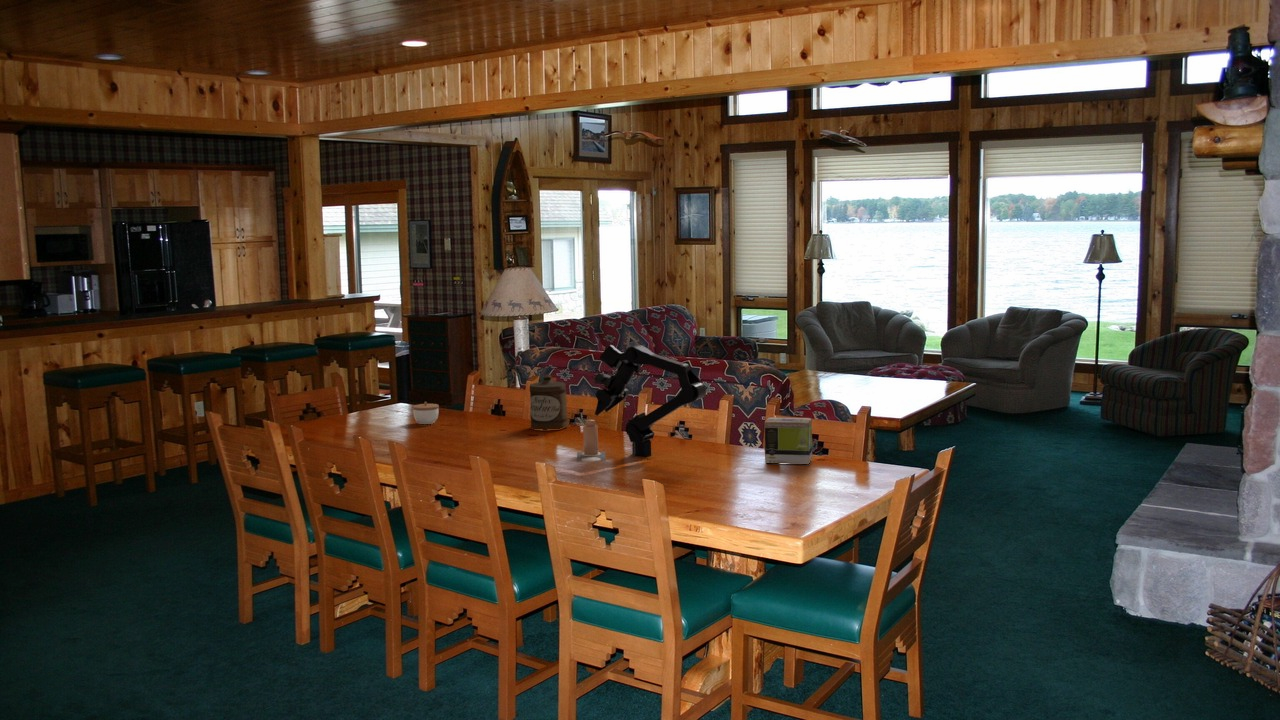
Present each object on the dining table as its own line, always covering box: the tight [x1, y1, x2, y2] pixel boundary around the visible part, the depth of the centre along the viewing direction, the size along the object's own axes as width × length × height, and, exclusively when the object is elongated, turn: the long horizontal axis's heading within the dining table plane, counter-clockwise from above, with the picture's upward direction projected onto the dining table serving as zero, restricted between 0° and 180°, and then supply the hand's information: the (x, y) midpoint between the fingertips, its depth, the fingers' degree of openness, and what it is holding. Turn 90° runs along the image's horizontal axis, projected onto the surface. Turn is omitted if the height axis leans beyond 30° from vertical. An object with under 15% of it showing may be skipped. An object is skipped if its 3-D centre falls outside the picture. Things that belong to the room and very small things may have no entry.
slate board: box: [576, 451, 607, 463], centre depth 355 cm, size 16×10×1 cm, turn 3°
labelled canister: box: [529, 374, 568, 430], centre depth 413 cm, size 15×15×22 cm
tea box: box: [764, 416, 813, 465], centre depth 345 cm, size 15×10×15 cm, turn 74°
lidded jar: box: [412, 401, 440, 425], centre depth 428 cm, size 11×11×9 cm
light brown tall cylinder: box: [582, 419, 599, 455], centre depth 359 cm, size 5×5×12 cm
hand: (600, 413), depth 360 cm, fingers open, 9 cm apart
